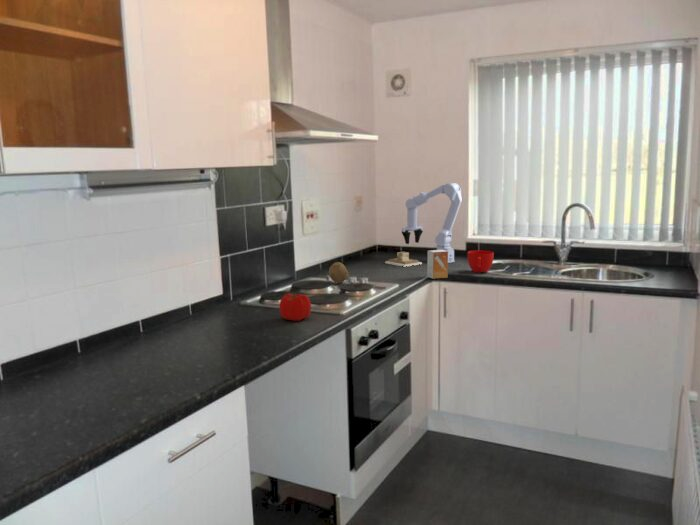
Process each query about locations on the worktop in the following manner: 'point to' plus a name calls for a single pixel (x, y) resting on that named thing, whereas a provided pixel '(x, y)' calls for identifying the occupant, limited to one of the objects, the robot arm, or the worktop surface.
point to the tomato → (295, 307)
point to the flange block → (403, 256)
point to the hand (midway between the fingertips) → (412, 243)
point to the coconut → (338, 272)
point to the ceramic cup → (480, 260)
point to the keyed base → (402, 263)
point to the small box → (437, 264)
